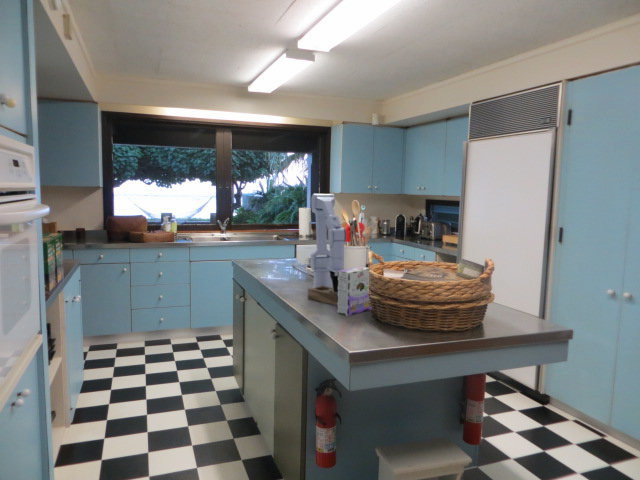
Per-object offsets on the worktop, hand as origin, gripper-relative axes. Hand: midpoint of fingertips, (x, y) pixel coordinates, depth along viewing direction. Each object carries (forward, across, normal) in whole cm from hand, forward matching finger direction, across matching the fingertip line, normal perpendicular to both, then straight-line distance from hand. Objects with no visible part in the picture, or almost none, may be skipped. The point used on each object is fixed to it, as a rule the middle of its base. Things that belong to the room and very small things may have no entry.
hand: (336, 289), depth 191 cm
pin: (+4, 0, 0) cm, 4 cm away
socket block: (+5, -3, -3) cm, 6 cm away
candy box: (+5, +15, +6) cm, 17 cm away
